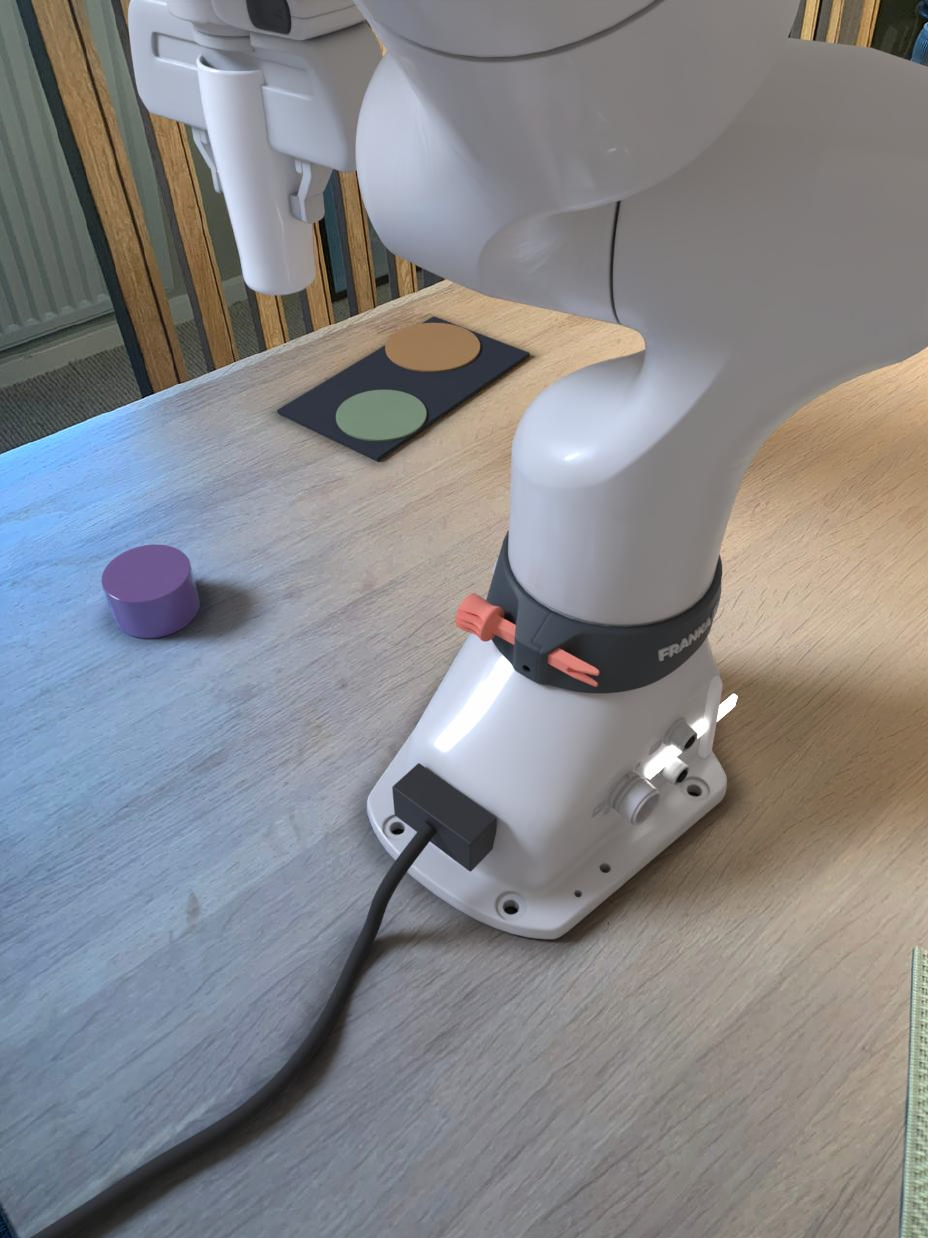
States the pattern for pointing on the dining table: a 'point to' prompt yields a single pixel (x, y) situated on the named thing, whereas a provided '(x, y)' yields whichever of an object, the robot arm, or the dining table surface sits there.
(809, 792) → the dining table surface
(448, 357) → the placemat
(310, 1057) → the robot arm
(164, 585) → the purple cylinder puck
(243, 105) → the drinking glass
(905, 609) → the dining table surface
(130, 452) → the dining table surface
